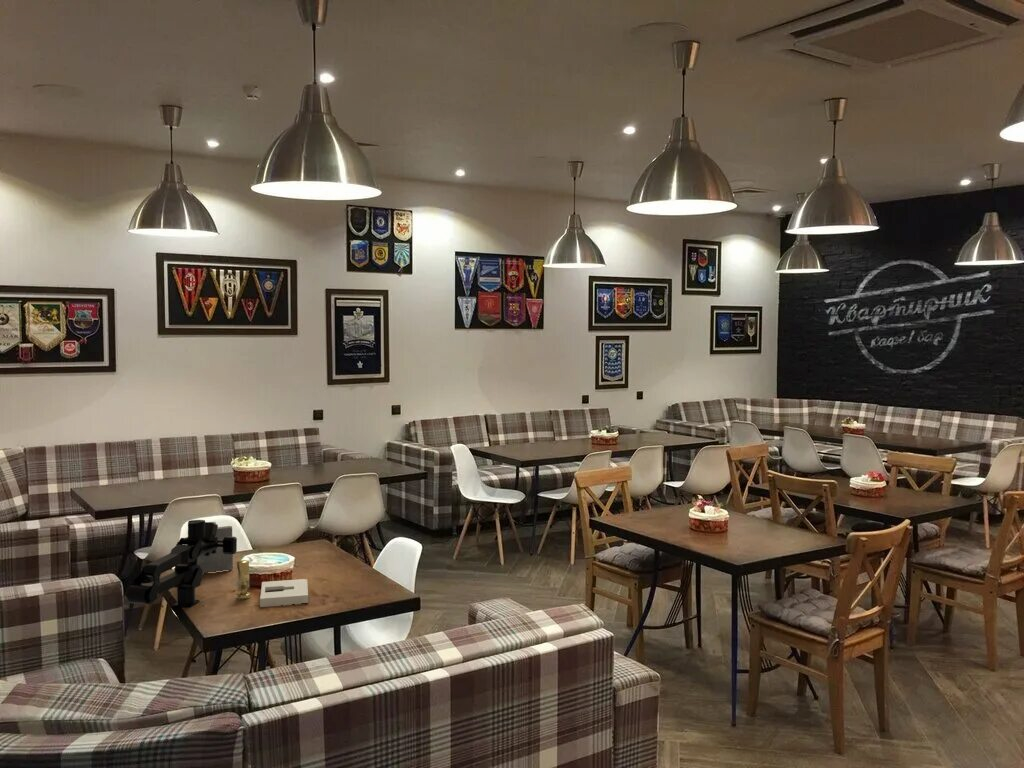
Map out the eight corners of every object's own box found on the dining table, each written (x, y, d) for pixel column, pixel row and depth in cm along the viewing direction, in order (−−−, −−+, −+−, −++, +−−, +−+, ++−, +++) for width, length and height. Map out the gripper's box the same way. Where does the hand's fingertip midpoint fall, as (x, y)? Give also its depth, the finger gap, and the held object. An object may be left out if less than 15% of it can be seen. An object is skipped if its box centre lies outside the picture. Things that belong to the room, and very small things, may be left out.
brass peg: (247, 599, 294) (246, 563, 293) (234, 599, 295) (233, 563, 294) (253, 595, 299) (252, 560, 298) (240, 595, 300) (239, 559, 299)
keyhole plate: (260, 607, 286) (260, 598, 286) (262, 590, 306) (262, 582, 305) (308, 603, 290) (308, 595, 290) (307, 586, 310) (307, 578, 309)
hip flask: (232, 568, 333) (231, 519, 332) (233, 571, 330) (232, 521, 329) (190, 573, 327) (189, 523, 326) (190, 576, 323) (189, 525, 322)
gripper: (224, 526, 296) (247, 520, 311) (177, 524, 300) (202, 517, 315) (224, 558, 296) (246, 549, 311) (177, 555, 300) (201, 547, 315)
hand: (224, 540), depth 313 cm, fingers open, 9 cm apart
